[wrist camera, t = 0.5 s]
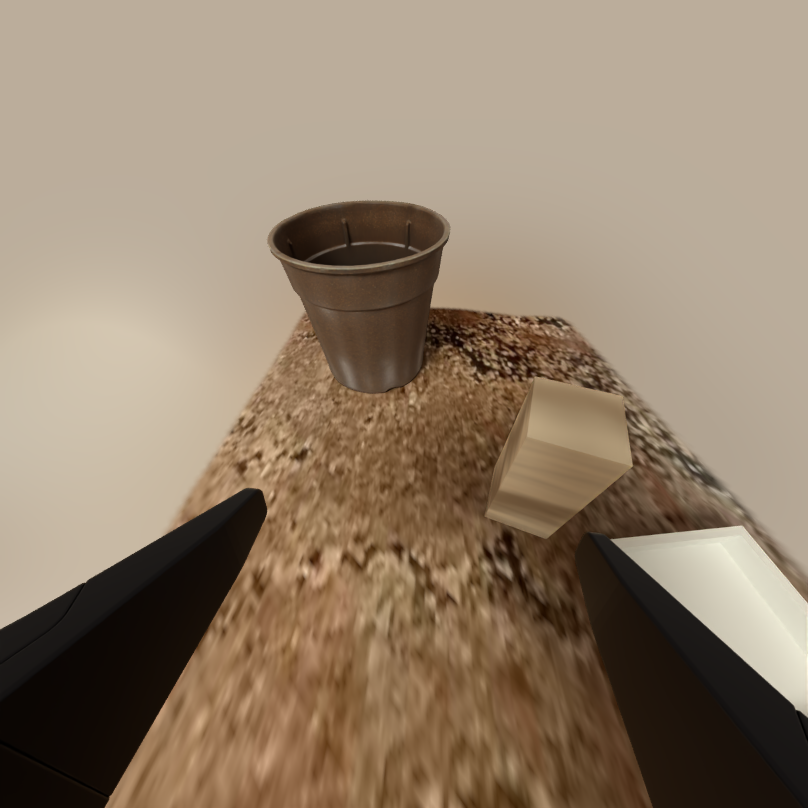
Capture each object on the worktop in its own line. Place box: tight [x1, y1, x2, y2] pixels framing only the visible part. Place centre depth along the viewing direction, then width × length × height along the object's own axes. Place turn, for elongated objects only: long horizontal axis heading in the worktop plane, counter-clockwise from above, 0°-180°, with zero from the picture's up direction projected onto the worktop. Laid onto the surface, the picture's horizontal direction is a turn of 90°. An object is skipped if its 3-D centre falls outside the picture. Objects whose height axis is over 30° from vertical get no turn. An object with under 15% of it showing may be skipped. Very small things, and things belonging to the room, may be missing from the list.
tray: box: [610, 526, 808, 717], centre depth 18 cm, size 11×11×2 cm
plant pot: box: [267, 201, 450, 393], centre depth 32 cm, size 16×16×16 cm
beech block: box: [484, 377, 633, 539], centre depth 21 cm, size 5×5×12 cm
